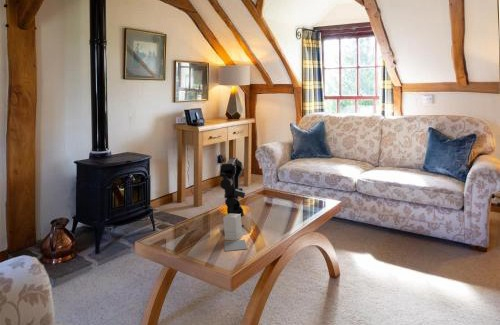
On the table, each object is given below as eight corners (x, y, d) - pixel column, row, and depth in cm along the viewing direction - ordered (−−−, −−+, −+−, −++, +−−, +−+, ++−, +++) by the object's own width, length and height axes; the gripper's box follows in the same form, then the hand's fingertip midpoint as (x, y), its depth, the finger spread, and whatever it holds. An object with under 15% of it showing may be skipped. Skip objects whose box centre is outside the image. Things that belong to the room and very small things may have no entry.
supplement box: (243, 236, 218) (241, 213, 216) (236, 240, 211) (235, 217, 210) (230, 235, 221) (229, 213, 219) (224, 239, 214) (222, 216, 213)
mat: (223, 242, 210) (223, 241, 210) (244, 240, 211) (244, 239, 211) (224, 251, 196) (224, 250, 196) (247, 249, 197) (247, 248, 197)
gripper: (245, 187, 213) (247, 216, 215) (242, 181, 231) (244, 207, 233) (224, 189, 212) (226, 218, 214) (223, 183, 230) (225, 209, 233)
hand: (231, 213), depth 224 cm, fingers closed
